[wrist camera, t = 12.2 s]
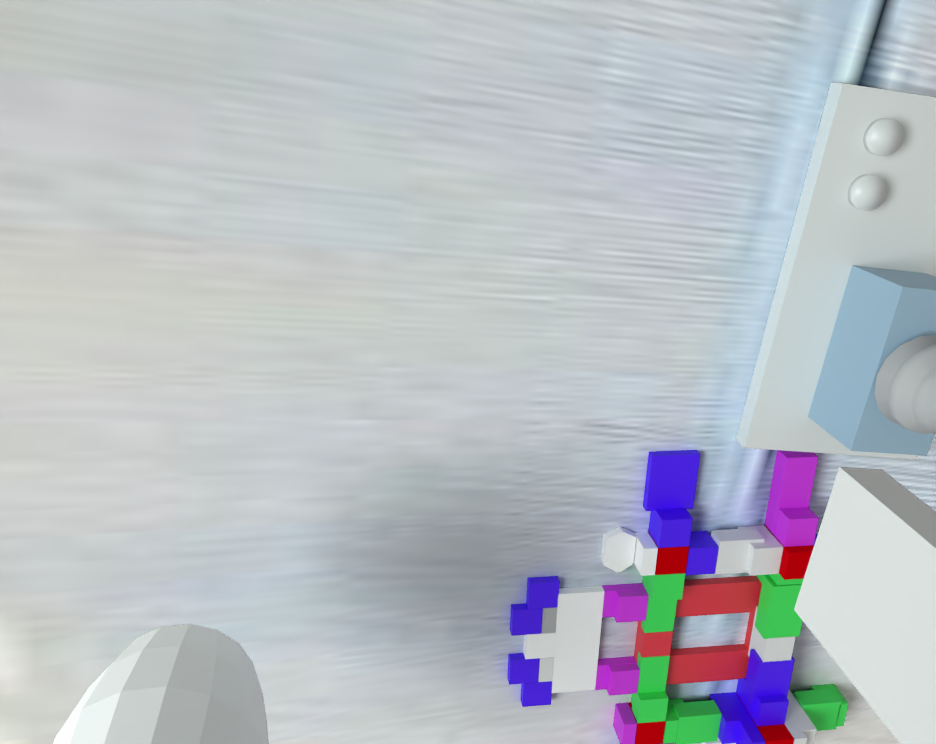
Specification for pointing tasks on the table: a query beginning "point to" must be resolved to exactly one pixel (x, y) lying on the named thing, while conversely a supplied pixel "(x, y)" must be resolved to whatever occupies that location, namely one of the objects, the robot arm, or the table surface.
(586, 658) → the building block set
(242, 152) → the table surface
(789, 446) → the build plate
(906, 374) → the rook chess piece
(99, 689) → the cup
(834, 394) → the blue brick
